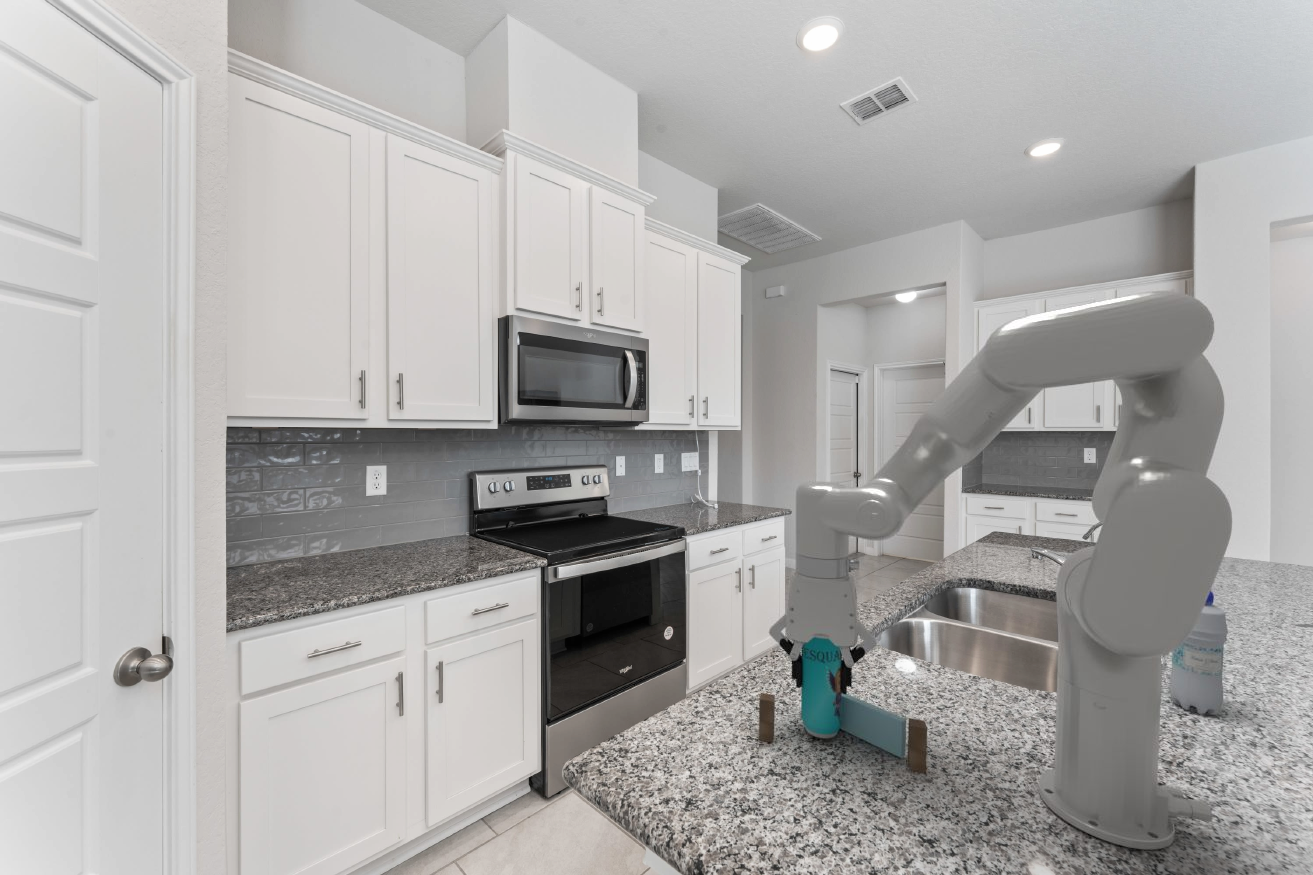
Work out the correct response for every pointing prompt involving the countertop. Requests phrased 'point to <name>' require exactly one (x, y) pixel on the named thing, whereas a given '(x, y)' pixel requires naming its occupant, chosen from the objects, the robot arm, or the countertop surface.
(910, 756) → the twin wooden posts
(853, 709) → the gate door
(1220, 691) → the bottle
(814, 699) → the beverage can
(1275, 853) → the countertop surface
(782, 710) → the countertop surface
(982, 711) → the countertop surface
